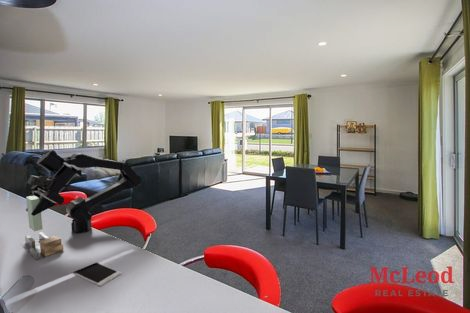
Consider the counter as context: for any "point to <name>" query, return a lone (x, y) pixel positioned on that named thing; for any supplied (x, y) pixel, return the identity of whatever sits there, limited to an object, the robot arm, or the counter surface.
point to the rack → (35, 246)
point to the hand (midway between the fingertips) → (29, 213)
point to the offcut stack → (51, 245)
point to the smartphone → (97, 273)
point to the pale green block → (36, 220)
